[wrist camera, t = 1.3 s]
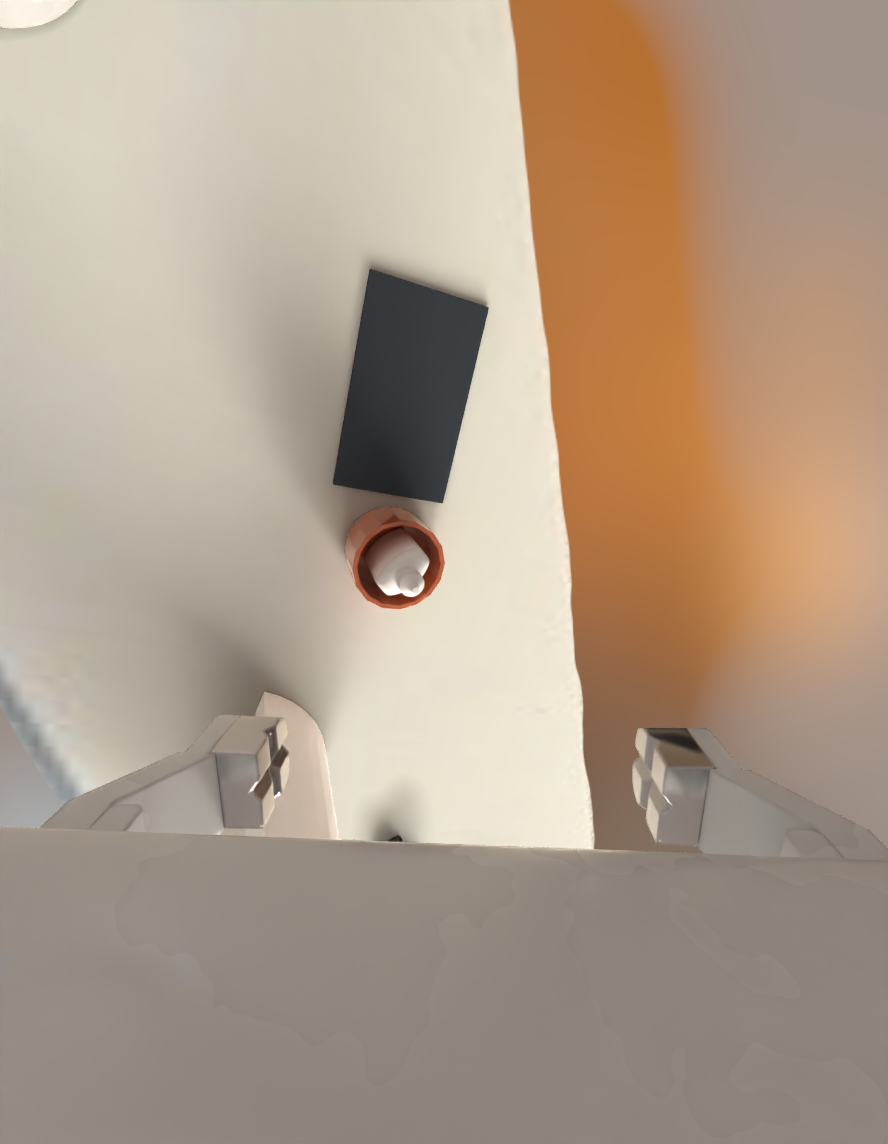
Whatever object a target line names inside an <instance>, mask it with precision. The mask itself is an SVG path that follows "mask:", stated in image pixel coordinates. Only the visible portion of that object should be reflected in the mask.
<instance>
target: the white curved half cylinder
mask: <svg viewBox="0 0 888 1144" xmlns="http://www.w3.org/2000/svg"><path fill="white" fill-rule="evenodd" d="M255 716H261V717H282V718H284V719H285V721H286V724H287V733H288V735H287V737H286V739H285V740H284V742H283V745H284V746H285V748H286V749H287V750H288V751H289V758H290V765H289V775H288V779H287V783H286V786H285V788H284V790H283V792H282V794H280V795H279V796H277V797H276V798H274V806H275V808H274V809H273V811H272V813H271V815H270V817H269V819H268V821H267V823H266V825H265V826H264V828H263V829H237V828H224V831H223V832H221V833H220V834H219V835H231V836H258V837H284V838H310V839H336V840H340V838H339V831H338V825H337V819H336V813H335V806H334V800H333V794H332V788H331V781H330V775H329V769H328V763H327V756H326V750H325V744H324V740H323V737H322V734H321V731H320V729H319V728H318V726H317V724H316V723H315V721H314V720H313V719H312V718H311V716H310V715H309V714H308V713H307V712H306V711H305V710H304V709H302V708H301V707H299V706H298V705H297V704H295V703H294V702H292V701H290V700H288V699H285V698H283V697H281V696H279V695H275V694H272V693H268V692H264V693H263V696H262V698H261V701H260V703H259V706H258V708H257V711H256V713H255Z"/></svg>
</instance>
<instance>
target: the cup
mask: <svg viewBox="0 0 888 1144" xmlns="http://www.w3.org/2000/svg"><path fill="white" fill-rule="evenodd" d="M398 528H403V529H405V530H406V531H407V532H408V533H409V535H410V536H411V537H412V538H413V539H414V541H415V542H416V543H417V544H418V545H419V547H420V548H421V549H422V550H423V552H424V553H425V554H426V555H427V557H428V559H429V565H428V568H427V570H426V572H425V573H424V575H423V576H422V577H423V579H424V587H423V590H422V591H421V592H420V593H419V594H418V595H416V596H413V597H410V596H405V595H404V594H402V593H399V594H396V595H387V594H385V593H384V592H383V591H382V590H381V589H380V587H379V586H378V585H377V583H376V582H375V580H374V578H373V576H372V574H371V572H370V570H369V568H368V566H367V564H366V562H365V555H366V553H367V552H368V550H369V548H370V547H371V546H372V544H373V543H374V542H375V541H376V540H377V539H378V538H380V537H381V536H382V535H384V534H386V533H387V532H389V531H392V530H394V529H398ZM345 556H346V560H347V564H348V567H349V570H350V572H351V575H352V577H353V579H354V582H355V584H356V587H357V588H358V589H359V591H360V592H361V593H362V594H363V596H364V597H365V598H366V599H367V600H368V601H370V602H372V603H374V604H376V605H378V606H380V607H382V608H391V609H402V608H406V607H409V606H413V605H416V604H418V603H419V602H420V601H422V600H423V599H425V598H426V597H428V596H429V595H430V594H431V593H432V592H433V590H434V589H435V587H436V586H437V584H438V583H439V582H440V580H441V576H442V572H443V568H444V563H445V562H444V556H443V550H442V546H441V544H440V543H439V541H438V540H437V538H436V537H435V535H434V534H433V533H432V532H431V530H430V529H429V528H428V527H427V526H426V525H425V524H424V523H423V522H422V521H421V520H420V519H419V518H418V517H416V516H414V515H413V514H412V513H410V512H408V511H407V510H405V509H401V508H397V507H381V508H377V509H374V510H372V511H369V512H367V513H366V514H364V515H363V516H362V517H360V518H359V519H358V520H357V521H356V522H355V523H354V525H353V526H352V527H351V529H350V531H349V533H348V535H347V539H346V543H345Z"/></svg>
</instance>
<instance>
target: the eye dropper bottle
mask: <svg viewBox="0 0 888 1144" xmlns="http://www.w3.org/2000/svg"><path fill="white" fill-rule="evenodd" d="M365 562H366V564H367V566H368V568H369V570H370V572H371V574H372V576H373V578H374V580H375V582H376V583H377V585H378V586H379V587H380V589H381V590H382V591H383V592H384V593H385V594H387V595H396V594H399V593H402V594H404V595H405V596H410V597H413V596H416V595H418V594H419V593H420V592H421V591H422V590H423V587H424V579H423V577H422V576H423V575H424V573H425V572H426V570H427V568H428V565H429V559H428V557H427V555H426V554H425V553H424V552H423V550H422V549H421V548H420V547H419V545H418V544H417V543H416V542H415V541H414V539H413V538H412V537H411V536H410V535H409V533H408V532H407V531H406V530H405V529H403V528H398V529H394V530H392V531H389V532H387V533H386V534H384V535H382V536H381V537H380V538H378V539H377V540H376V541H375V542H374V543H373V544H372V546H371V547H370V548H369V550H368V552H367V553H366V555H365Z"/></svg>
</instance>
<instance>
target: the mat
mask: <svg viewBox="0 0 888 1144" xmlns="http://www.w3.org/2000/svg"><path fill="white" fill-rule="evenodd" d="M488 309H489V308H488V307H485V306H482V305H479V304H476V303H473V302H470V301H467V300H464V299H461V298H458V297H455V296H452V295H449V294H446V293H443V292H439V291H436V290H433V289H430V288H427V287H424V286H421V285H418V284H415V283H412V282H409V281H406V280H403V279H400V278H397V277H394V276H391V275H388V274H385V273H382V272H378V271H375V270H372V269H370V270H369V276H368V282H367V288H366V293H365V299H364V305H363V311H362V317H361V323H360V329H359V334H358V340H357V346H356V352H355V358H354V364H353V369H352V375H351V381H350V387H349V393H348V399H347V405H346V410H345V416H344V422H343V428H342V434H341V440H340V446H339V451H338V457H337V463H336V469H335V475H334V481H333V484H334V485H340V486H345V487H351V488H357V489H363V490H369V491H374V492H380V493H386V494H392V495H398V496H403V497H409V498H415V499H421V500H427V501H432V502H438V503H443V500H444V495H445V491H446V487H447V483H448V478H449V474H450V470H451V466H452V462H453V457H454V453H455V449H456V445H457V440H458V436H459V432H460V428H461V423H462V419H463V415H464V411H465V406H466V402H467V398H468V394H469V389H470V385H471V381H472V377H473V372H474V368H475V364H476V360H477V355H478V351H479V347H480V343H481V338H482V334H483V330H484V326H485V321H486V317H487V313H488Z"/></svg>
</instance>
